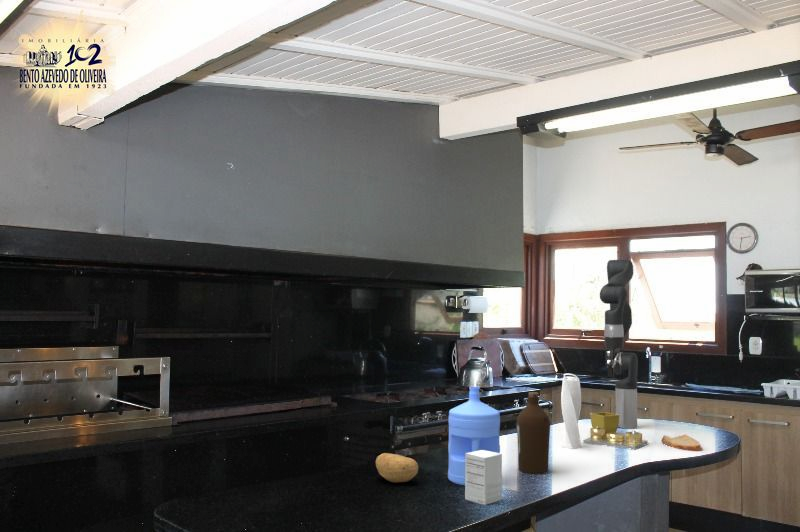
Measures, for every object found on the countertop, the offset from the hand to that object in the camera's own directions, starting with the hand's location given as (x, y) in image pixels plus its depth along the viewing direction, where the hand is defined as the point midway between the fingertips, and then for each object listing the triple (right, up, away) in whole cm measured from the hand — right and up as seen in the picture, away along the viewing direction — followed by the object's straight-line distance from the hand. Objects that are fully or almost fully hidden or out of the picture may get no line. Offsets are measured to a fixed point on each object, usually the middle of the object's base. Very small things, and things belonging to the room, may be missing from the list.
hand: (614, 375), depth 283 cm
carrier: (-2, -25, -8) cm, 27 cm away
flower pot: (-2, -27, +8) cm, 28 cm away
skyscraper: (-22, -25, -17) cm, 37 cm away
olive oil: (-44, -22, -57) cm, 75 cm away
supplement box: (-64, -19, -93) cm, 115 cm away
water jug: (-65, -21, -72) cm, 99 cm away
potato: (-88, -20, -74) cm, 117 cm away
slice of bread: (+23, -26, -11) cm, 37 cm away
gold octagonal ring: (+4, -24, -13) cm, 27 cm away
